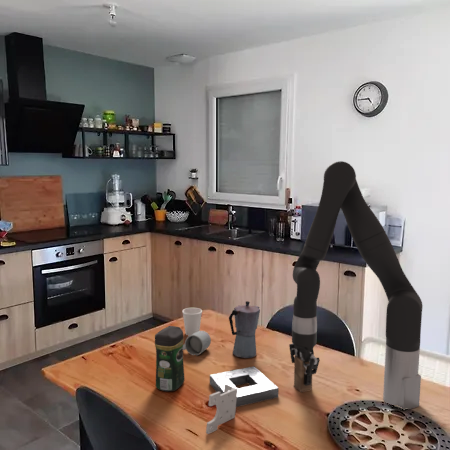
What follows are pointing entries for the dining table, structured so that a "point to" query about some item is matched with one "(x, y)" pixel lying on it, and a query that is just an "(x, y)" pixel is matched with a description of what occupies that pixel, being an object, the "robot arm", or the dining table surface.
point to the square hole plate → (251, 394)
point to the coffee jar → (169, 358)
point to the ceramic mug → (197, 343)
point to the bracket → (222, 407)
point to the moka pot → (245, 330)
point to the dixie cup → (192, 320)
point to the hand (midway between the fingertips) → (303, 381)
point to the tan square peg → (300, 376)
